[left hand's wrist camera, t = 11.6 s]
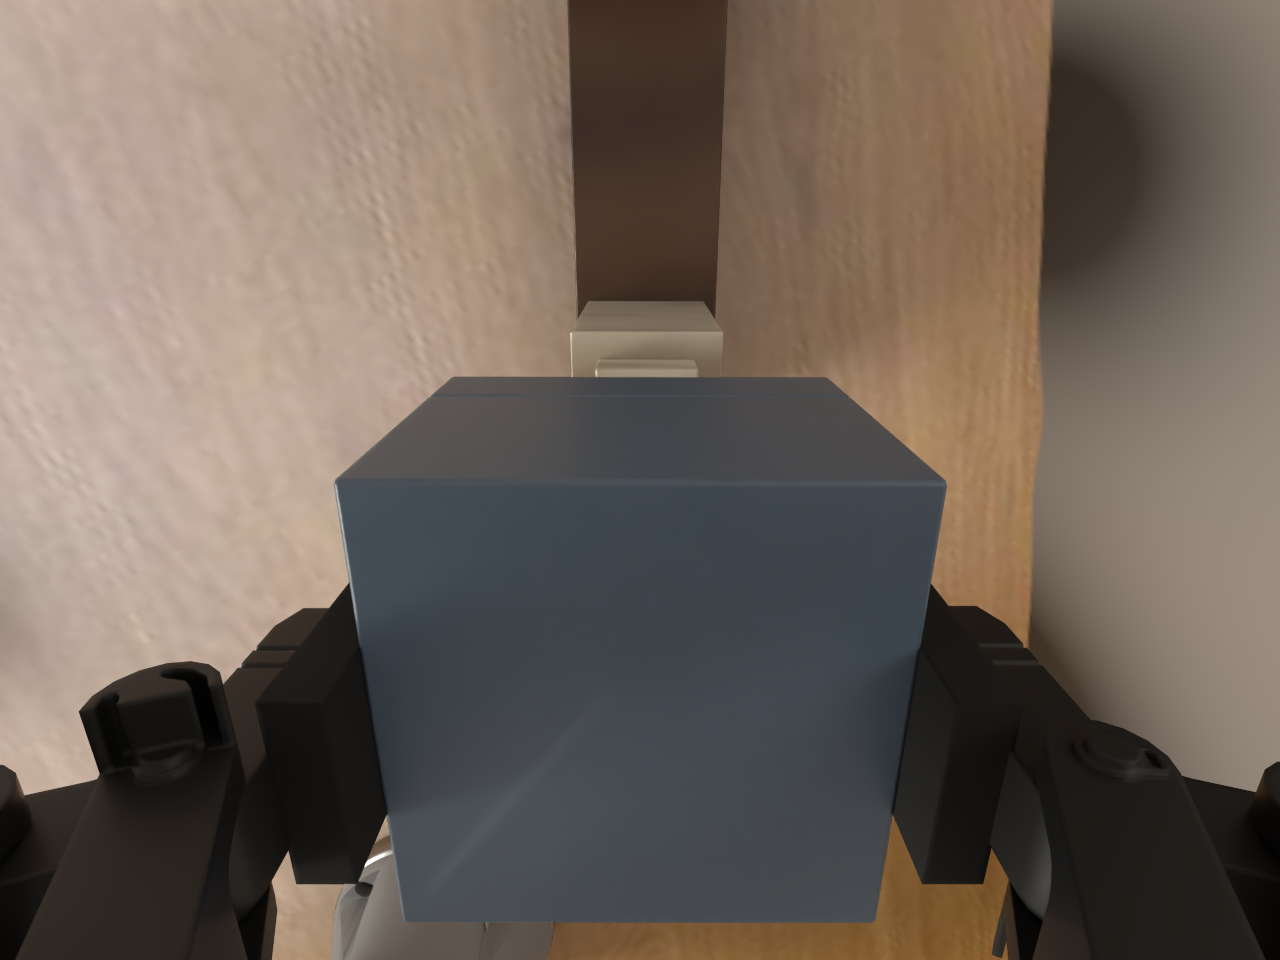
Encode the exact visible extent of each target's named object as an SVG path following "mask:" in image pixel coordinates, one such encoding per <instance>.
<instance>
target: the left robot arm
mask: <svg viewBox="0 0 1280 960" xmlns="http://www.w3.org/2000/svg"><path fill="white" fill-rule="evenodd" d="M79 714H80V717H81V720H82V723H83V725H84V728H85V731H86V734H87V737H88V740H89V743H90V746H91V749H92V752H93V755H94V758H95V761H96V764H97V767H98V770H99V773H100V775H99V777H98V779H96V780H93V781H89V782H85V783H80V784H75V785H71V786H66V787H61V788H57V789H52V790H48V791H43V792H38V793H34V794H29V795H24V793H23V791H22V788H21V786H20V783H19V781H18V778H17V775H16V773H15V772H13V771H12V770H10V769H9V768H7V767H6V766H4V765H0V960H272V952H273V944H274V935H275V926H276V917H277V906H276V899H275V893H274V889H273V885H272V879H273V877H274V876H275V874H276V872H277V870H278V868H279V867H280V865H281V863H282V861H283V859H284V857H285V856H286V854H287V852H288V850H289V854H290V859H291V863H292V867H293V872H294V876H295V880H296V884H344V885H343V888H342V890H341V892H340V894H339V897H338V900H337V903H336V908H335V917H334V928H333V940H332V951H331V960H545V959H546V957H547V955H548V953H549V951H550V947H551V944H552V937H553V929H554V923H407V922H405V921H404V920H403V915H402V909H401V903H400V896H399V890H398V884H397V877H396V871H395V865H394V859H393V852H392V846H391V840H390V836H388V837H386V838H384V839H382V840H380V841H378V842H377V843H375V841H376V838H377V836H378V834H379V831H380V829H381V826H382V824H383V822H384V819H385V817H386V808H385V802H384V796H383V790H382V783H381V777H380V771H379V764H378V758H377V752H376V746H375V739H374V733H373V727H372V721H371V714H370V708H369V702H368V695H367V689H366V683H365V677H364V670H363V664H362V658H361V651H360V645H359V639H358V633H357V626H356V620H355V614H354V608H353V601H352V595H351V589H350V582H349V584H348V585H347V586H346V587H345V589H344V590H343V591H342V593H341V594H340V595H339V596H338V598H337V599H336V600H335V601H334V603H333V604H332V605H331V607H330V608H303V609H302V610H300V611H298V612H297V613H295V614H294V615H292V616H290V617H289V618H287V619H285V620H284V621H282V622H281V623H279V624H277V625H276V626H274V628H273V629H272V630H271V631H270V632H269V633H268V634H267V636H266V637H265V638H264V639H263V640H262V641H261V642H260V643H259V645H258V646H257V650H256V651H252V653H251V654H250V655H249V656H248V657H247V658H246V659H245V660H244V662H243V663H242V667H241V668H237V670H236V671H235V672H234V673H233V674H232V675H231V676H230V677H229V679H228V680H227V681H226V682H225V683H224V684H223V683H222V679H221V675H220V672H219V671H217V670H216V669H215V668H213V667H212V666H211V665H209V664H204V663H197V662H191V661H189V662H177V663H166V664H162V665H159V666H155V667H151V668H147V669H144V670H140V671H137V672H135V673H133V674H131V675H128V676H126V677H124V678H121V679H119V680H117V681H115V682H113V683H111V684H110V685H108V686H107V687H105V688H104V689H102V690H101V691H99V692H98V693H96V694H95V695H93V696H92V697H91V698H90V699H89V701H88V702H87V703H86V704H85V705H84V706H83V707H82V709H81V710H80V711H79ZM893 816H894V818H895V821H896V823H897V825H898V828H899V830H900V832H901V835H902V837H903V840H904V842H905V844H906V847H907V849H908V851H909V854H910V856H911V859H912V861H913V863H914V866H915V868H916V870H917V873H918V875H919V878H920V880H921V882H922V884H983V882H984V878H985V874H986V869H987V865H988V861H989V856H990V852H991V848H992V849H993V851H994V853H995V855H996V857H997V858H998V860H999V862H1000V864H1001V866H1002V867H1003V869H1004V871H1005V873H1006V875H1007V876H1008V878H1009V881H1008V885H1007V889H1006V893H1005V898H1004V902H1003V906H1002V910H1001V914H1000V918H999V922H998V926H997V930H996V934H995V938H994V944H993V950H992V955H994V956H997V957H1000V958H1002V955H1003V951H1004V948H1005V944H1006V942H1007V950H1008V959H1009V960H1280V762H1276V763H1274V764H1273V765H1271V766H1270V767H1268V768H1267V769H1265V771H1264V773H1263V776H1262V779H1261V781H1260V784H1259V786H1258V789H1257V791H1256V792H1252V791H1247V790H1243V789H1238V788H1233V787H1228V786H1224V785H1219V784H1215V783H1210V782H1205V781H1201V780H1196V779H1191V778H1188V777H1184V776H1182V775H1181V773H1180V772H1179V771H1178V769H1177V768H1176V766H1175V765H1174V764H1173V762H1172V761H1171V760H1170V758H1169V757H1168V756H1167V755H1166V754H1164V753H1163V752H1162V751H1160V750H1159V749H1158V748H1156V747H1155V746H1154V745H1153V744H1151V743H1150V742H1149V741H1147V740H1145V739H1143V738H1141V737H1139V736H1137V735H1135V734H1133V733H1131V732H1129V731H1127V730H1125V729H1123V728H1120V727H1117V726H1113V725H1110V724H1107V723H1103V722H1100V721H1095V720H1090V719H1089V718H1088V717H1087V715H1086V714H1085V713H1084V712H1083V711H1082V710H1081V709H1080V707H1079V706H1078V705H1077V704H1076V703H1075V702H1074V701H1073V700H1072V699H1071V697H1070V696H1069V695H1068V694H1067V693H1066V692H1065V691H1064V690H1063V688H1062V687H1061V686H1060V685H1059V684H1058V683H1057V682H1056V680H1055V679H1054V678H1053V677H1052V676H1051V675H1050V674H1049V673H1048V671H1047V670H1046V669H1045V668H1044V667H1043V666H1039V664H1038V660H1037V659H1036V658H1035V657H1034V656H1033V655H1032V653H1031V652H1030V651H1029V650H1028V649H1027V648H1023V643H1022V642H1021V641H1020V640H1019V639H1018V638H1017V637H1016V635H1015V634H1014V633H1013V632H1012V631H1011V630H1010V629H1009V628H1008V626H1007V625H1006V624H1005V623H1003V622H1002V621H1000V620H998V619H997V618H995V617H993V616H992V615H990V614H989V613H987V612H985V611H984V610H982V609H980V608H979V607H977V606H948V605H947V603H946V602H945V601H944V600H943V598H942V597H941V596H940V594H939V593H938V592H937V591H936V589H935V588H934V587H933V586H932V584H931V585H930V591H929V597H928V603H927V610H926V616H925V622H924V628H923V634H922V640H921V646H920V652H919V658H918V664H917V670H916V676H915V682H914V688H913V694H912V701H911V707H910V713H909V719H908V725H907V731H906V737H905V743H904V749H903V755H902V761H901V767H900V773H899V779H898V786H897V792H896V798H895V804H894V810H893ZM374 843H375V844H374Z"/></svg>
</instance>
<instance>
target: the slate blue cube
mask: <svg viewBox="0 0 1280 960" xmlns="http://www.w3.org/2000/svg"><path fill="white" fill-rule="evenodd" d="M334 488H335V494H336V501H337V507H338V513H339V520H340V526H341V532H342V538H343V545H344V551H345V557H346V564H347V570H348V576H349V582H350V589H351V595H352V601H353V608H354V614H355V620H356V626H357V633H358V639H359V645H360V651H361V658H362V664H363V670H364V677H365V683H366V689H367V695H368V702H369V708H370V714H371V721H372V727H373V733H374V739H375V746H376V752H377V758H378V764H379V771H380V777H381V783H382V790H383V796H384V802H385V808H386V815H387V821H388V827H389V834H390V840H391V846H392V852H393V859H394V865H395V871H396V877H397V884H398V890H399V896H400V903H401V909H402V915H403V920H404V921H405V922H407V923H872V922H874V921H875V919H876V913H877V907H878V901H879V895H880V889H881V883H882V877H883V871H884V864H885V858H886V852H887V846H888V840H889V834H890V828H891V822H892V816H893V810H894V804H895V798H896V792H897V786H898V779H899V773H900V767H901V761H902V755H903V749H904V743H905V737H906V731H907V725H908V719H909V713H910V707H911V701H912V694H913V688H914V682H915V676H916V670H917V664H918V658H919V652H920V646H921V640H922V634H923V628H924V622H925V616H926V610H927V603H928V597H929V591H930V585H931V579H932V573H933V567H934V561H935V555H936V549H937V543H938V537H939V531H940V525H941V518H942V512H943V506H944V500H945V494H946V488H947V485H946V481H945V480H944V479H943V478H942V477H941V476H939V475H938V474H937V473H936V472H935V471H934V470H933V469H931V468H930V467H929V466H928V465H927V464H926V463H925V462H923V461H922V460H921V459H920V458H919V457H918V456H917V455H915V454H914V453H913V452H912V451H911V450H910V449H909V448H907V447H906V446H905V445H904V444H903V443H902V442H900V441H899V440H898V439H897V438H896V437H895V436H894V435H892V434H891V433H890V432H889V431H888V430H887V429H886V428H884V427H883V426H882V425H881V424H880V423H879V422H878V421H876V420H875V419H874V418H873V417H872V416H871V415H869V414H868V413H867V412H866V411H865V410H864V409H863V408H861V407H860V406H859V405H858V404H857V403H856V402H855V401H853V400H852V399H851V398H849V396H848V395H847V394H845V393H844V392H843V391H842V390H841V389H840V388H839V387H837V386H836V385H835V384H834V383H833V382H832V381H830V380H829V379H828V378H809V377H453V378H451V379H450V380H449V381H447V382H446V383H445V384H444V385H443V386H442V387H441V388H439V389H438V390H437V391H436V392H435V393H434V394H433V395H431V397H430V398H428V399H427V400H426V401H425V402H423V403H422V404H421V405H420V406H419V407H418V408H417V409H415V410H414V411H413V412H412V413H411V414H410V415H409V416H407V417H406V418H405V419H404V420H403V421H402V422H401V423H399V424H398V425H397V426H396V427H395V428H394V429H393V430H391V431H390V432H389V433H388V434H387V435H386V436H385V437H384V438H382V439H381V440H380V441H379V442H378V443H377V444H376V445H374V446H373V447H372V448H371V449H370V450H369V451H368V452H366V453H365V454H364V455H363V456H362V457H361V458H360V459H358V460H357V461H356V462H355V463H354V464H353V465H352V466H350V467H349V468H348V469H347V470H346V471H345V472H344V473H342V474H341V475H340V476H339V477H338V478H337V479H336V480H335V483H334Z"/></svg>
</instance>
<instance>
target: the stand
mask: <svg viewBox="0 0 1280 960" xmlns="http://www.w3.org/2000/svg"><path fill="white" fill-rule="evenodd" d="M727 2H728V0H568V32H569V67H570V101H571V135H572V170H573V204H574V238H575V273H576V307H577V322H576V323H575V325H574V327H573V328H572V330H571V332H570V346H571V376H572V377H722V355H723V331H722V330H721V328H720V327H719V325H718V324H717V322H716V320H715V305H716V280H717V254H718V229H719V204H720V179H721V153H722V128H723V103H724V78H725V52H726V27H727Z"/></svg>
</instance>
